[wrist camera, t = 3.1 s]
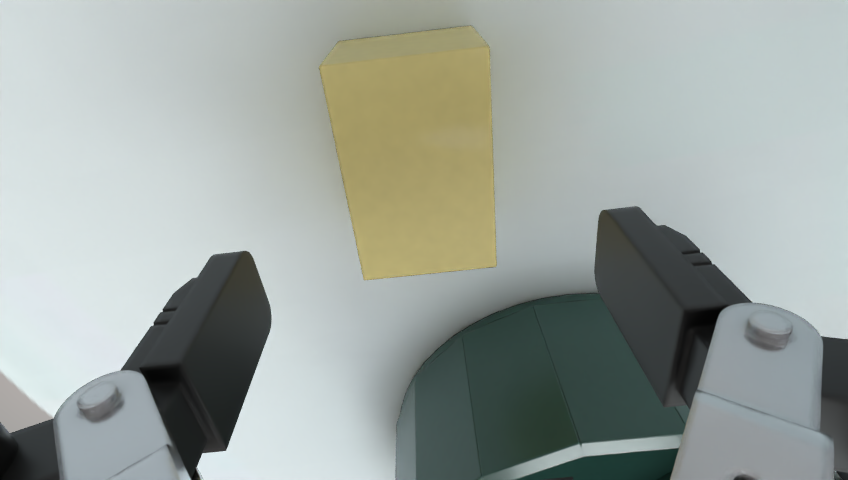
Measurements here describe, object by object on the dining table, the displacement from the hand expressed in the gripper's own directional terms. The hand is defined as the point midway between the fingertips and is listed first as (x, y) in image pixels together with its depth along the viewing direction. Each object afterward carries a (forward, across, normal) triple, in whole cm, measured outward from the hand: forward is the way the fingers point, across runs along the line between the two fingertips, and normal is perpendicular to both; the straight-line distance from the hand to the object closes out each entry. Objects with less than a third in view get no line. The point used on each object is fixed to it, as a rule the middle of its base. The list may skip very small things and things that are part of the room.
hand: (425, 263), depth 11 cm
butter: (+8, 0, 0) cm, 8 cm away
